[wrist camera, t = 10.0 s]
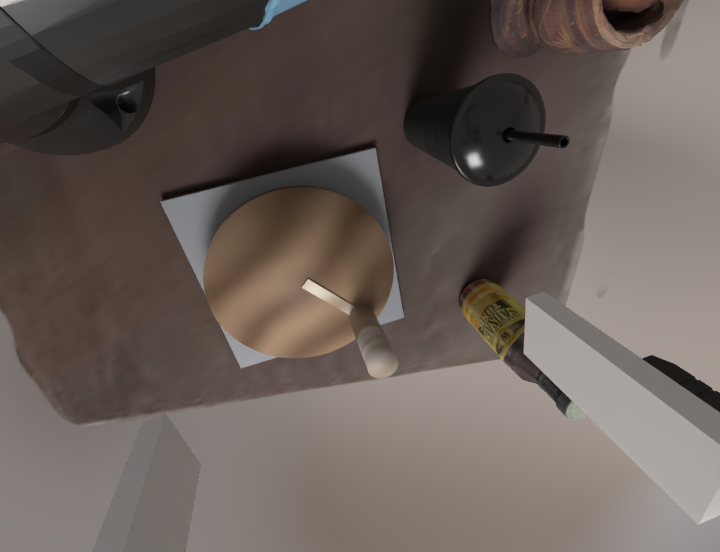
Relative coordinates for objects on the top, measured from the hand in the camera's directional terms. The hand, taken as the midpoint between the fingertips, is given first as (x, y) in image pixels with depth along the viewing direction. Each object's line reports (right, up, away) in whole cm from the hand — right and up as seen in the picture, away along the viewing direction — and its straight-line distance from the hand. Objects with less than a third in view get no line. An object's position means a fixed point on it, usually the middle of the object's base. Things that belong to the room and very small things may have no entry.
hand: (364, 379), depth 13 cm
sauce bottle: (+16, +1, +37) cm, 40 cm away
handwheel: (-7, +4, +27) cm, 29 cm away
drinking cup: (+7, +20, +25) cm, 33 cm away
